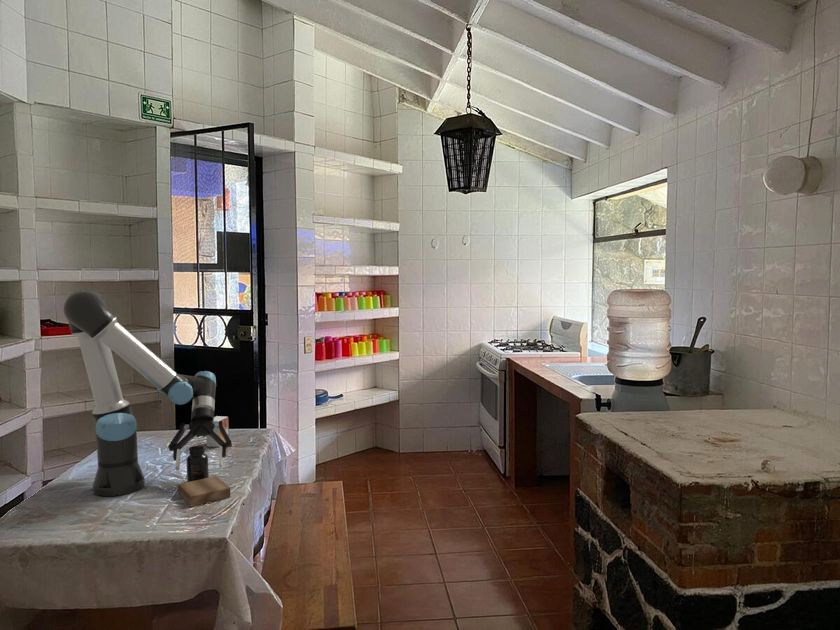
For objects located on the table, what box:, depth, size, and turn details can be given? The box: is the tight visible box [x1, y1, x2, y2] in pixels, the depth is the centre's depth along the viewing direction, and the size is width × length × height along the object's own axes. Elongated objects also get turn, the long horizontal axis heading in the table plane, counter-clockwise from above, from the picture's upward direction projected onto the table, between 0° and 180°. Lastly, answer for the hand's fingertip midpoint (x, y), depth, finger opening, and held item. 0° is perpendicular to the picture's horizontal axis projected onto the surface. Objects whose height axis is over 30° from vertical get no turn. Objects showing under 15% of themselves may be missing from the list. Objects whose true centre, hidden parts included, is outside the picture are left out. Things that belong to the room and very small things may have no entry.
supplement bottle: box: [186, 444, 210, 482], centre depth 202 cm, size 7×7×12 cm
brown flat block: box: [177, 475, 231, 507], centre depth 191 cm, size 12×13×3 cm
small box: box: [206, 415, 230, 448], centre depth 245 cm, size 8×6×10 cm
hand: (199, 467), depth 201 cm, fingers open, 13 cm apart
